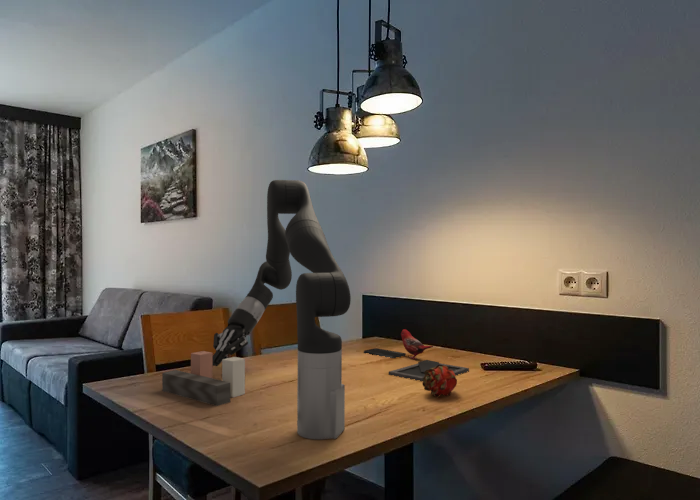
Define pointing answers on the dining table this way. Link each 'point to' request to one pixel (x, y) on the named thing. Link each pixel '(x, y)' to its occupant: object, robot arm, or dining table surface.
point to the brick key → (202, 363)
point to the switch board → (196, 387)
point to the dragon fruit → (439, 381)
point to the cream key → (234, 375)
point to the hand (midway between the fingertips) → (213, 364)
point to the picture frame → (423, 370)
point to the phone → (384, 353)
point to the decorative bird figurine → (412, 344)
